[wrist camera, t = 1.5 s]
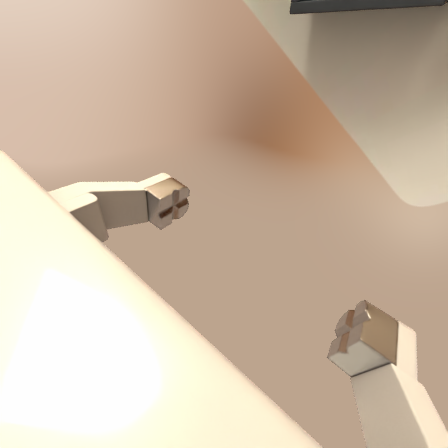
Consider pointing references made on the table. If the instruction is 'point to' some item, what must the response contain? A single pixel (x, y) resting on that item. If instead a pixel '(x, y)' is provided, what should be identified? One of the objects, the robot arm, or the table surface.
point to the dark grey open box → (356, 5)
